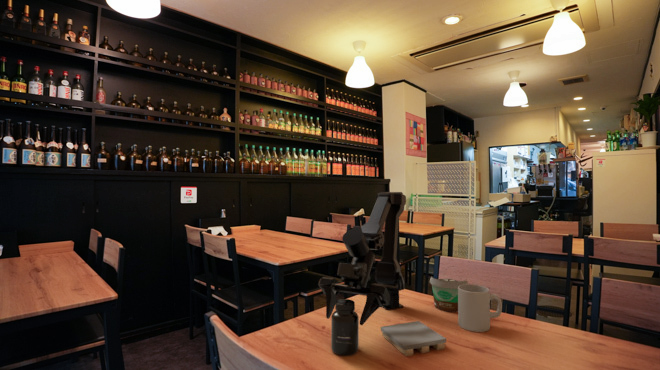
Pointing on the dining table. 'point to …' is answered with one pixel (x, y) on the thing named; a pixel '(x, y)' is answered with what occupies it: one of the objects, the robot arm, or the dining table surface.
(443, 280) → the food container
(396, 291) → the robot arm
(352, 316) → the supplement bottle
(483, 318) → the mug
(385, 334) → the plate
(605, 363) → the dining table surface
